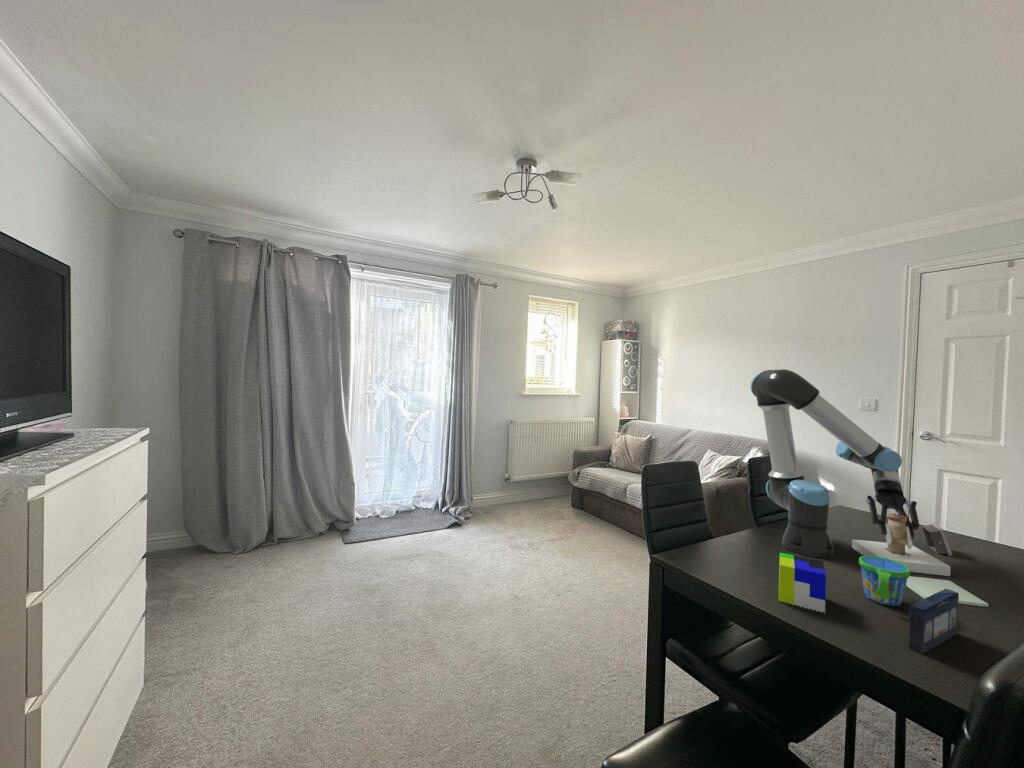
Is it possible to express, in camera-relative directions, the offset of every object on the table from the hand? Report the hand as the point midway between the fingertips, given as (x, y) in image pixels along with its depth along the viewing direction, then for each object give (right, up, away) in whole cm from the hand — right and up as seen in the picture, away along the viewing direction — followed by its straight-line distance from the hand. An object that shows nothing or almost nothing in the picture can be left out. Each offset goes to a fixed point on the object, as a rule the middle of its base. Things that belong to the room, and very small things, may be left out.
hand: (899, 545), depth 140 cm
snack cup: (-26, -6, -24) cm, 36 cm away
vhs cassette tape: (-31, -7, -42) cm, 52 cm away
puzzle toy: (-49, -6, -24) cm, 55 cm away
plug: (+2, -5, +3) cm, 6 cm away
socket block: (+2, -7, +3) cm, 8 cm away
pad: (-5, -7, -18) cm, 20 cm away
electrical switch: (+25, -7, +13) cm, 29 cm away
